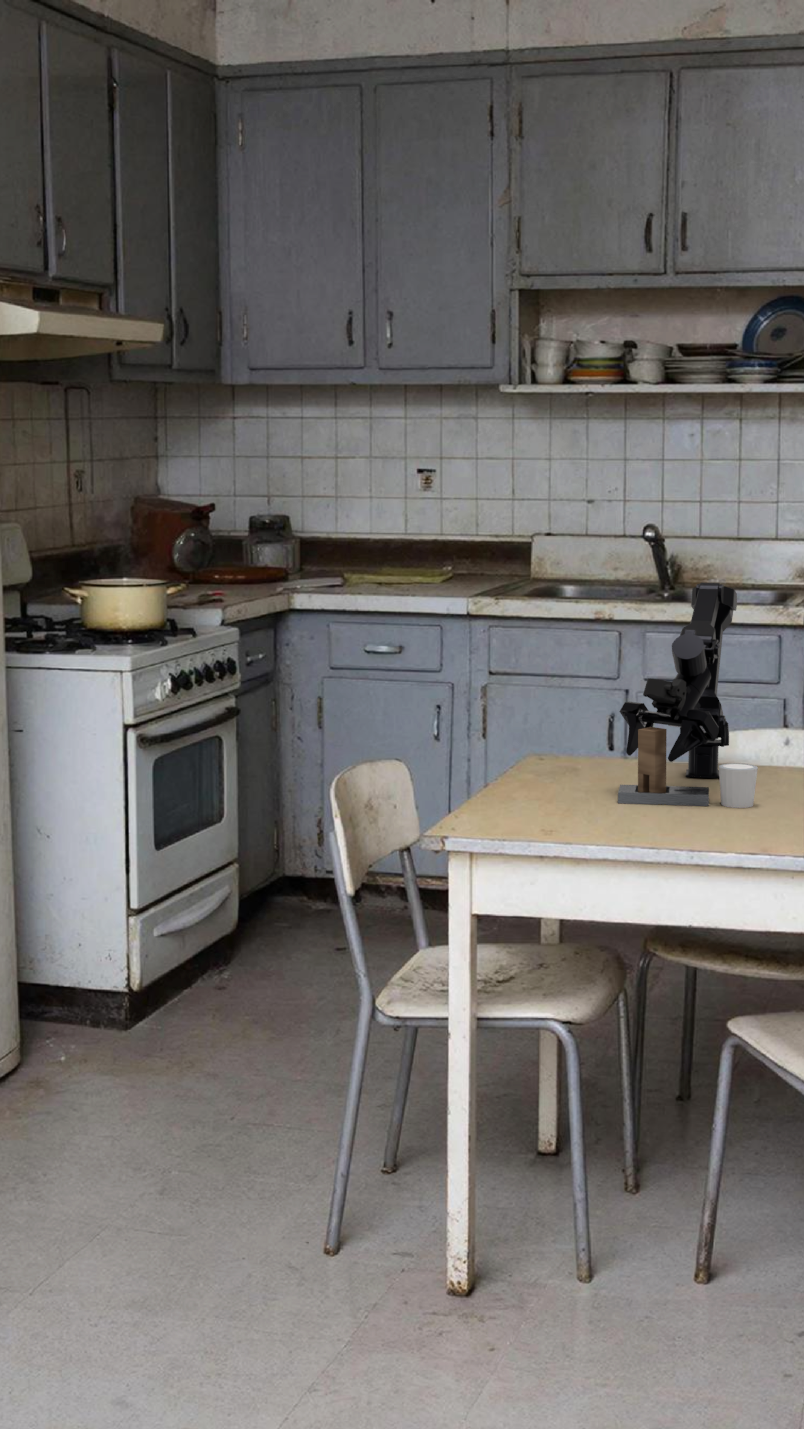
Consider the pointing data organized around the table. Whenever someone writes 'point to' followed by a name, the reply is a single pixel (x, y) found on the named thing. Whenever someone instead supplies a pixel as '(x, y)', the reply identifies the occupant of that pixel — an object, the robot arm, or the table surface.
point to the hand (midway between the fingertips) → (648, 757)
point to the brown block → (652, 760)
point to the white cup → (737, 784)
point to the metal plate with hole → (665, 796)
